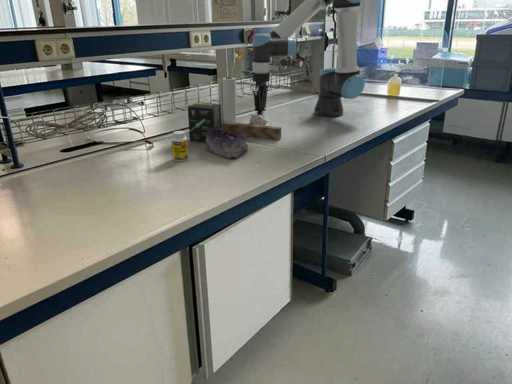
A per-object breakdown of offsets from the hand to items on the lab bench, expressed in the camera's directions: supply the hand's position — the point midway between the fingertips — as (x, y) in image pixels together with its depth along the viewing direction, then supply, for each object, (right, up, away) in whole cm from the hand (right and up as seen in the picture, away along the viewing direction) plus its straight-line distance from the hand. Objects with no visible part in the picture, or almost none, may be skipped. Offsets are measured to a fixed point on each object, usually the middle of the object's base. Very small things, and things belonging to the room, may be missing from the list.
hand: (260, 125), depth 191 cm
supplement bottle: (-29, -19, -38) cm, 51 cm away
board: (-4, -7, -11) cm, 13 cm away
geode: (-14, -15, -30) cm, 36 cm away
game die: (-1, -4, -3) cm, 5 cm away
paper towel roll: (-15, +2, +10) cm, 18 cm away
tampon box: (-23, -9, -15) cm, 29 cm away
